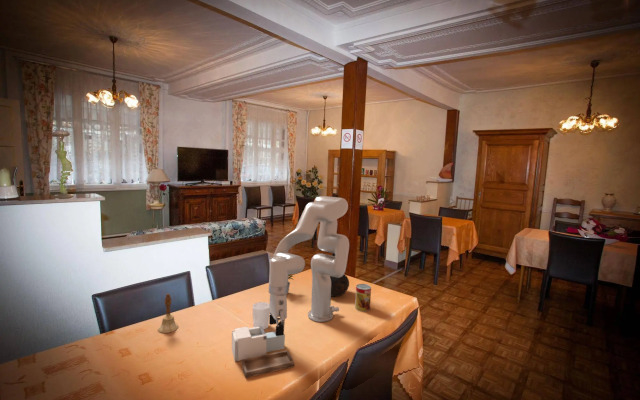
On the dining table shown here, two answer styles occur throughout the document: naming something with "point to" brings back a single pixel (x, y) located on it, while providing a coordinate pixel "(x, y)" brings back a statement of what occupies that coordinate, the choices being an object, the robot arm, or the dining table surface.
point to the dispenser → (248, 342)
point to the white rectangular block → (274, 341)
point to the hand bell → (168, 318)
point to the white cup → (261, 314)
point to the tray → (267, 363)
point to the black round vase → (339, 284)
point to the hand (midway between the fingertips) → (276, 329)
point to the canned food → (363, 297)
